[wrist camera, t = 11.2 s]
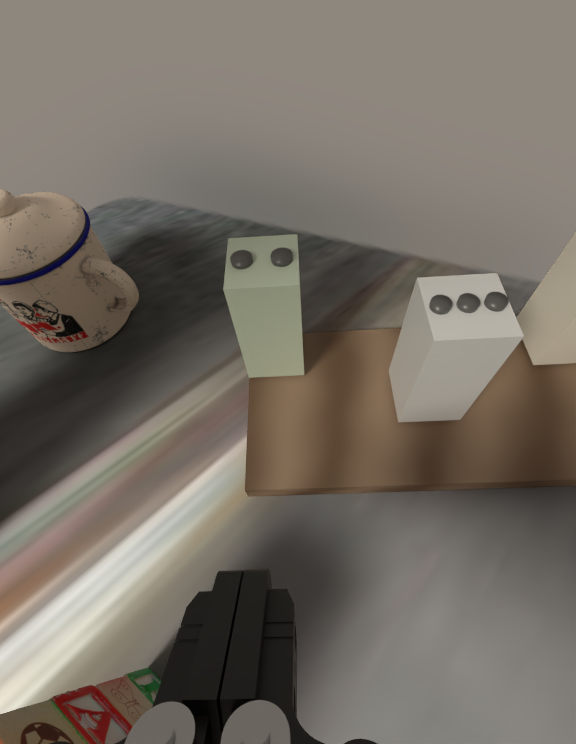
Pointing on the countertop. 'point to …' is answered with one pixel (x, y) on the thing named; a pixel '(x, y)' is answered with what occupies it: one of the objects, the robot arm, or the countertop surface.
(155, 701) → the robot arm
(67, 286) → the teacup with lid
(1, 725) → the stack of blocks
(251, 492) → the brown wooden board
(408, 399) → the three dot key
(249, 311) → the two dot key
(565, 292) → the one dot key
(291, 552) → the countertop surface
